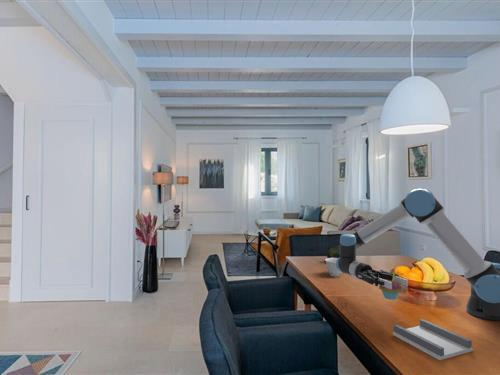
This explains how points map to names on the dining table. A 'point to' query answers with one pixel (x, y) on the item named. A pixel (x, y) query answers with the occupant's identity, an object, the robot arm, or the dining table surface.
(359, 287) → the dining table surface
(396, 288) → the cupcake
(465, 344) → the rail board
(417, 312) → the dining table surface
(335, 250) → the squash
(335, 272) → the teacup
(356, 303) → the dining table surface
